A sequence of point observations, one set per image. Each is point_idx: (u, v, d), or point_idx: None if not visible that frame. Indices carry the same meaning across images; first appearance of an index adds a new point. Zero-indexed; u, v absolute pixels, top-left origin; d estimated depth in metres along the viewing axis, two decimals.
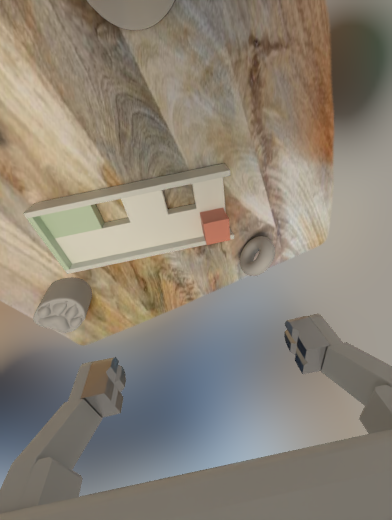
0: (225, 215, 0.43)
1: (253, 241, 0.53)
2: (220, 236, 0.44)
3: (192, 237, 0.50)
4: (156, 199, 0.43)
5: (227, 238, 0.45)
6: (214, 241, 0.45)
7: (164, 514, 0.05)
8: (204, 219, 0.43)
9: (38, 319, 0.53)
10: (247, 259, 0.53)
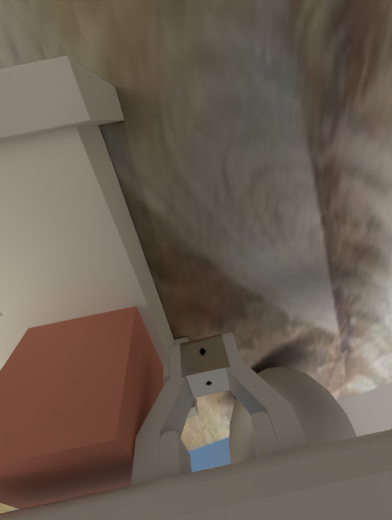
0: (114, 385, 0.07)
1: None
2: (98, 488, 0.08)
3: None
4: None
5: None
6: None
7: (164, 514, 0.05)
8: None
9: None
10: (253, 451, 0.16)
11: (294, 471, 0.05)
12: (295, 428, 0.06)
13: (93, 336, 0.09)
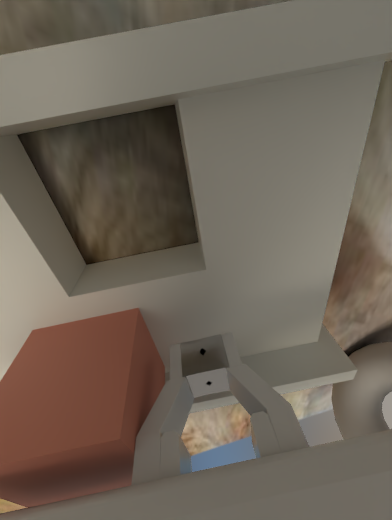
0: (118, 386, 0.07)
1: (391, 362, 0.16)
2: (102, 486, 0.08)
3: None
4: None
5: None
6: None
7: (164, 514, 0.05)
8: None
9: None
10: (371, 423, 0.16)
11: (294, 471, 0.05)
12: (295, 428, 0.06)
13: (96, 338, 0.09)
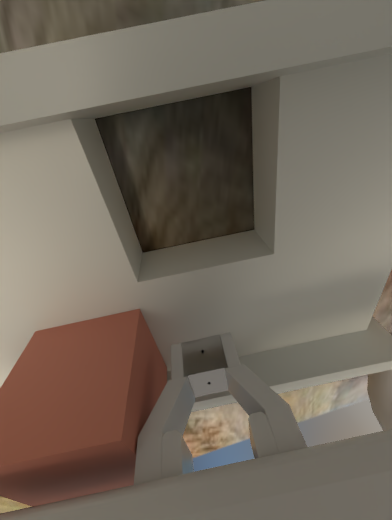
0: (120, 387, 0.07)
1: None
2: (105, 486, 0.08)
3: (238, 354, 0.13)
4: (60, 208, 0.07)
5: None
6: None
7: (164, 514, 0.05)
8: None
9: None
10: None
11: (294, 471, 0.05)
12: (293, 429, 0.06)
13: (98, 339, 0.09)
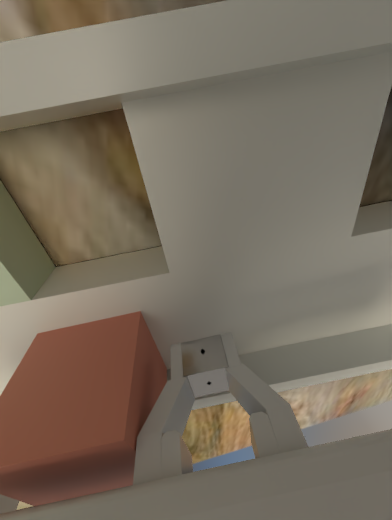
0: (122, 388, 0.07)
1: None
2: (107, 485, 0.08)
3: (388, 322, 0.13)
4: (334, 150, 0.07)
5: None
6: None
7: (164, 514, 0.05)
8: (3, 411, 0.08)
9: None
10: None
11: (294, 471, 0.05)
12: (294, 428, 0.06)
13: (100, 341, 0.09)
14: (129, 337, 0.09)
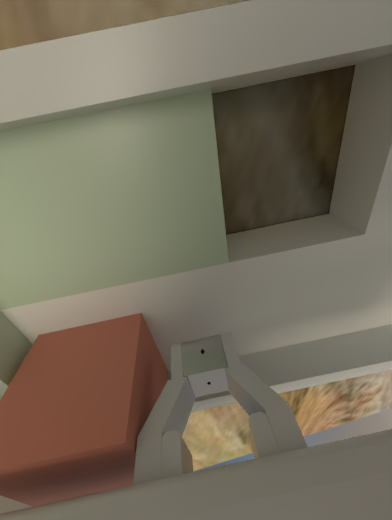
0: (123, 390, 0.07)
1: None
2: (108, 487, 0.08)
3: None
4: None
5: None
6: None
7: (164, 514, 0.05)
8: (4, 413, 0.08)
9: None
10: None
11: (294, 471, 0.05)
12: (293, 428, 0.06)
13: (101, 343, 0.09)
14: (130, 339, 0.09)
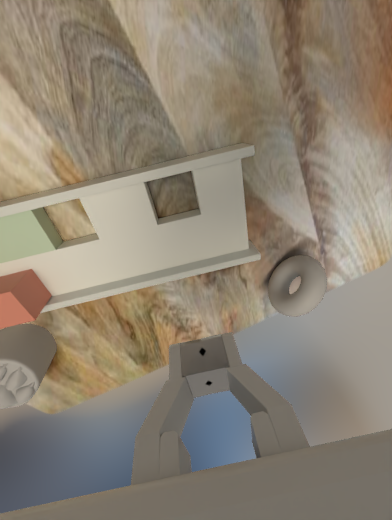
0: (14, 284, 0.27)
1: (288, 263, 0.35)
2: (13, 316, 0.28)
3: (196, 260, 0.33)
4: (137, 201, 0.27)
5: (28, 318, 0.28)
6: (8, 324, 0.28)
7: (164, 514, 0.05)
8: None
9: None
10: (280, 291, 0.35)
11: (294, 471, 0.05)
12: (295, 428, 0.06)
13: (15, 276, 0.29)
14: (23, 275, 0.29)
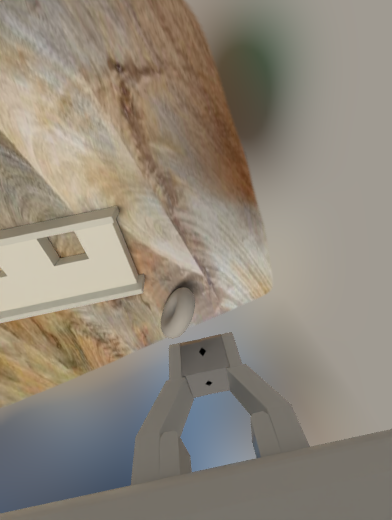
0: None
1: (174, 293, 0.43)
2: None
3: (94, 291, 0.41)
4: (33, 249, 0.35)
5: None
6: None
7: (164, 514, 0.05)
8: None
9: None
10: (167, 316, 0.43)
11: (294, 471, 0.05)
12: (295, 428, 0.06)
13: None
14: None
